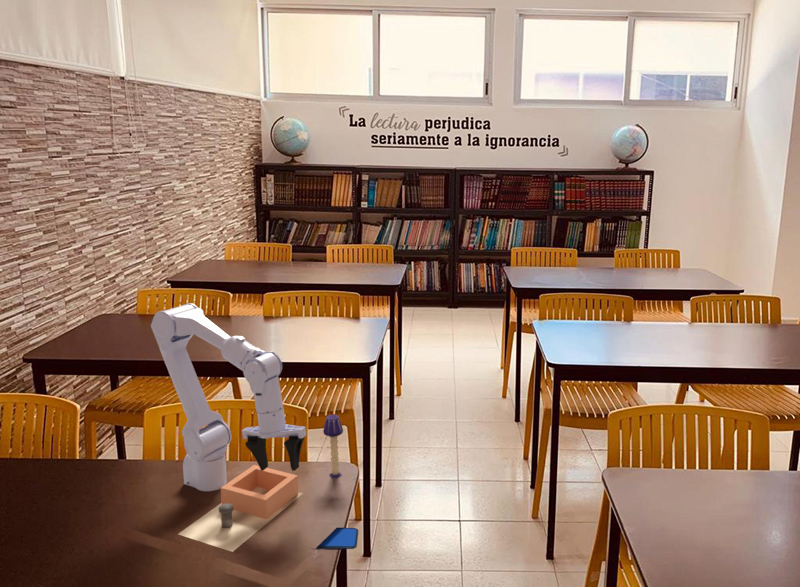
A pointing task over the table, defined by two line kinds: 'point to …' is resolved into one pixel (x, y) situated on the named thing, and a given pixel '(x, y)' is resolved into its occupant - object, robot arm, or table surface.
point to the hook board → (232, 534)
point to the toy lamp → (333, 441)
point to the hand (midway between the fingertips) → (279, 468)
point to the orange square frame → (255, 503)
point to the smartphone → (340, 539)
